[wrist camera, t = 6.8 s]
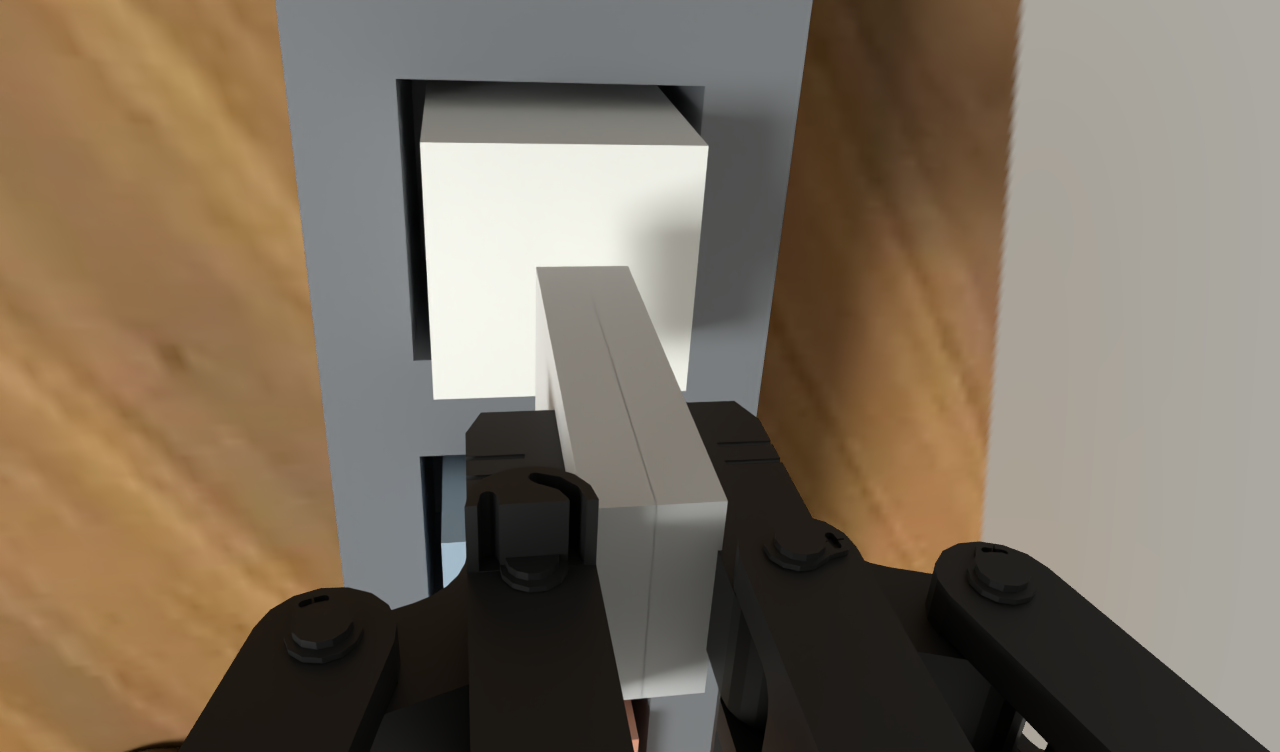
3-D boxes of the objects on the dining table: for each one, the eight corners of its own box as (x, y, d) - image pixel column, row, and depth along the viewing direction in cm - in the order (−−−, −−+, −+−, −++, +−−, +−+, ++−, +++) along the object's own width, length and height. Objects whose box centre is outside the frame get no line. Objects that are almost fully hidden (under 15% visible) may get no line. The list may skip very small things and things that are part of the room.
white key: (427, 80, 20) (420, 142, 16) (656, 85, 21) (708, 146, 17) (437, 295, 23) (433, 399, 18) (643, 291, 24) (685, 391, 19)
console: (314, -94, 22) (266, -73, 16) (732, -71, 24) (818, -46, 18) (394, 745, 35) (382, 914, 30) (657, 719, 37) (694, 875, 31)
